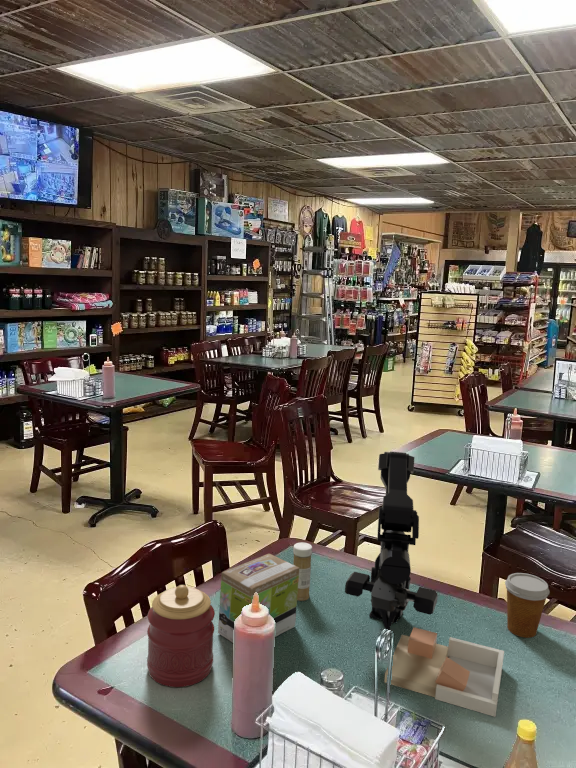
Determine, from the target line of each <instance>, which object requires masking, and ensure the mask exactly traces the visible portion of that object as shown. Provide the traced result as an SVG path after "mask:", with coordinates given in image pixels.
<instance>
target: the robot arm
mask: <svg viewBox="0 0 576 768" xmlns="http://www.w3.org/2000/svg"><path fill="white" fill-rule="evenodd" d="M377 466H378V468H377V471H380V480H381V482H382V484H383V486H384V488H385V495H384V496H383V499H382V506H379V507H378V519H377V537H376V538H377V540H376V541H377V542H380V552H379V554H378V555H377V557H376V558H375V560H374V566H371V571H370V574H366V573H362V572H357V571H353V572H352V573H351V574H350V576H349V577H348V579H347V580H345V584H344V585H345V586H344V593H345V594H346V595H349V596H354V597H356V598H358V597H360V596H361V595H362V594H363V593H364V591H367V592H369V593H370V597H371V599H370V602H371V611H370V612H369V614H368V615H369V617H370V618H373V619H376V620H380V621H382V622H383V625H384V629H385V630H387V629H388V630H387V631H389V630H391V627H392V625H393V624H397V622H399V619H400V618H401V616H402V615H403V613H404V611H406V608H407V606H408V604H409V602H413V608H414V609H415V611H416V612H418V613H422V614H425V615H433V614H434V611H435V609H436V607H437V603H438V593H437V591H436V590H435V589H431V588H427V587H422V586H419V587H418V589H417V591H416V592H415V591H412V590H411V589H410V585H411V580H412V579H411V577H410V576H411V571H412V570H411V569H412V568H411V561H410V560H411V558H410V553H409V546H416V543H417V542H416V541H417V540H418V539H419V533H420V516H419V515H418V511H417V510H414V500H413V498H411V497H410V495H409V494H408V482H409V481H410V478H411V474H414V472H415V456H412V455H410V454H409V453H407V452H402V451H401V452H400V451H390V452H389V451H384V452H383V453H380V454H379V456H378V465H377ZM381 530H382V531H383V532H381ZM406 533H411V534H406ZM416 539H417V540H416ZM363 590H364V591H363Z"/></svg>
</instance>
